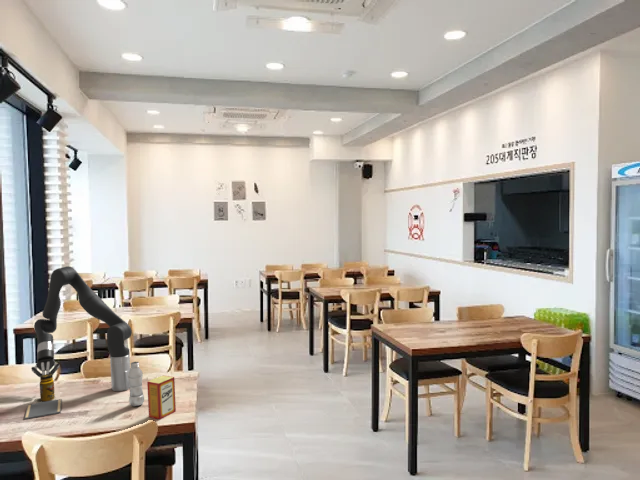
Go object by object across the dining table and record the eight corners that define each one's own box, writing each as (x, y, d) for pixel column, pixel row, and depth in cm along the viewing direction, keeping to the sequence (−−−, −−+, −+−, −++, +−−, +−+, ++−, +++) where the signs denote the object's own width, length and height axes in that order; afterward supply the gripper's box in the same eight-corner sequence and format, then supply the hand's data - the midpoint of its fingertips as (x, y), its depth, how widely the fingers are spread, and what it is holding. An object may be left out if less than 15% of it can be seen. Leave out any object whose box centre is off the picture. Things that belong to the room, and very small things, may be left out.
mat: (27, 405, 229) (27, 404, 229) (61, 400, 236) (61, 398, 236) (24, 419, 213) (24, 418, 213) (60, 413, 220) (60, 411, 220)
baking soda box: (164, 409, 221) (163, 374, 220) (175, 411, 218) (174, 376, 217) (148, 417, 212) (147, 381, 212) (160, 419, 210) (158, 383, 209)
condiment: (56, 400, 236) (54, 375, 235) (36, 404, 231) (34, 379, 231) (54, 395, 242) (53, 372, 241) (35, 399, 237) (33, 375, 237)
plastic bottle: (147, 403, 229) (145, 361, 228) (137, 408, 222) (135, 365, 221) (136, 401, 231) (134, 360, 230) (126, 407, 224) (124, 364, 223)
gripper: (30, 350, 246) (29, 381, 235) (59, 346, 252) (60, 376, 241) (31, 358, 251) (30, 389, 240) (60, 354, 257) (61, 384, 246)
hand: (45, 382), depth 241 cm, fingers closed
